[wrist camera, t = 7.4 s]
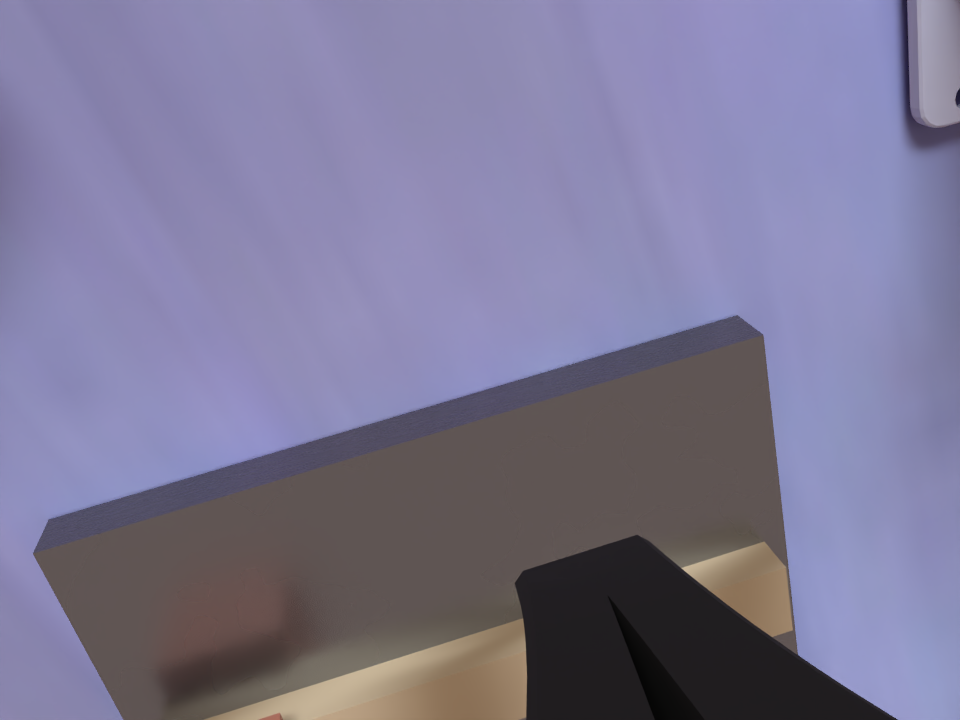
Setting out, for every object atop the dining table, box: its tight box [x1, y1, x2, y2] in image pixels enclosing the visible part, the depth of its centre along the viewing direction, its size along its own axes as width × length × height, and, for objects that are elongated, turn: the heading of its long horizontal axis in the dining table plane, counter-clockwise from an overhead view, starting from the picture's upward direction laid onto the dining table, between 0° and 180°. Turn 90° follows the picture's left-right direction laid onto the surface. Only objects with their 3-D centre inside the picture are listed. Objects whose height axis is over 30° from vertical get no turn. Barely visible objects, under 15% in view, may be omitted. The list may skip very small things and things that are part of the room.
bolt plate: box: [33, 315, 798, 720], centre depth 21 cm, size 15×14×1 cm
